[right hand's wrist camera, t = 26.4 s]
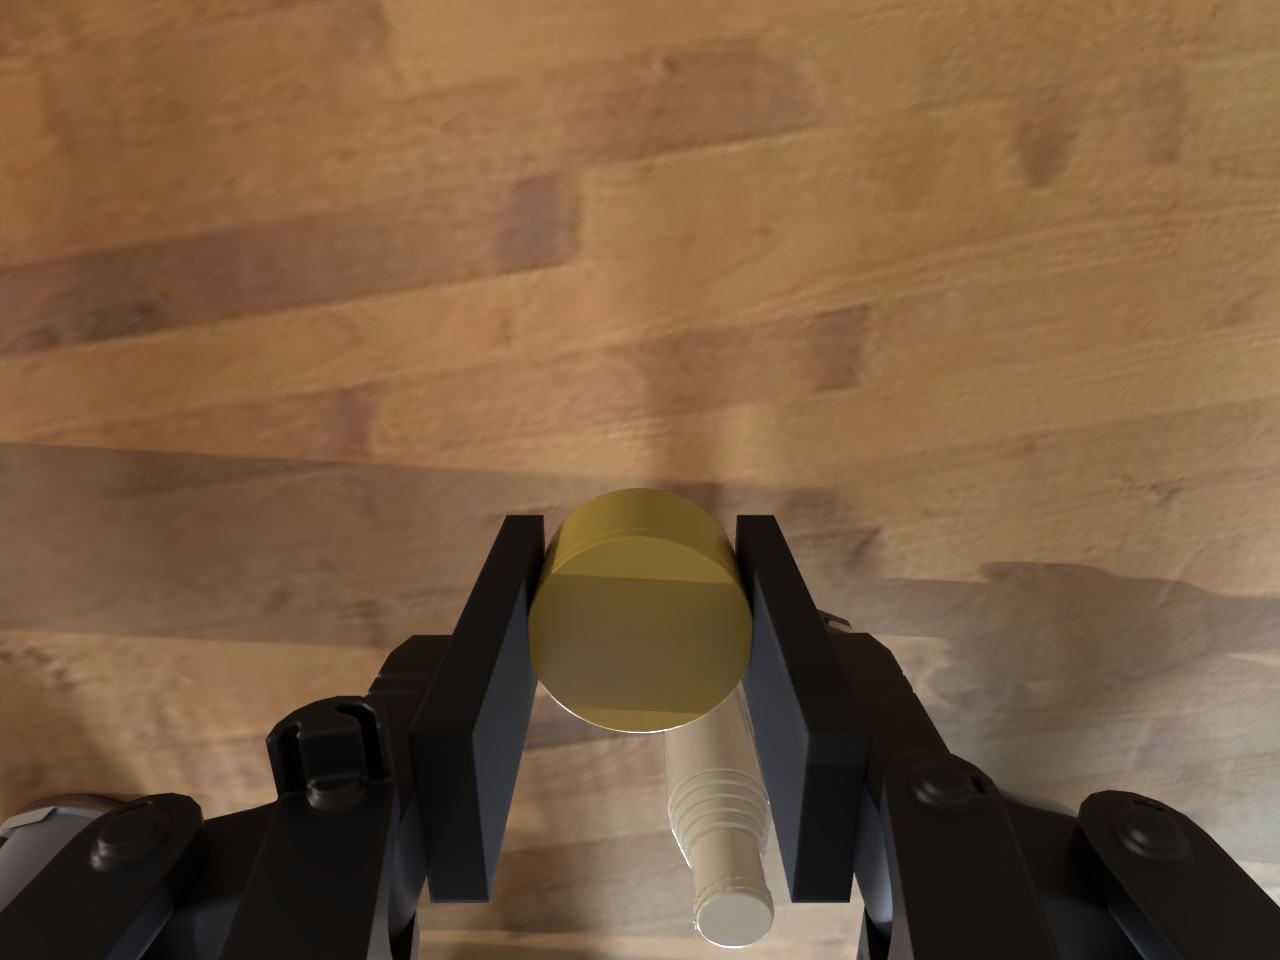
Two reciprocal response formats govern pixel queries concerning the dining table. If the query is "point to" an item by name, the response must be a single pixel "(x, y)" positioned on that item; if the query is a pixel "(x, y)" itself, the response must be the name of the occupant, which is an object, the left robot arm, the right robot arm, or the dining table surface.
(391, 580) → the dining table surface
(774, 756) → the right robot arm
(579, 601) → the cap
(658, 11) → the dining table surface
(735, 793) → the bottle
